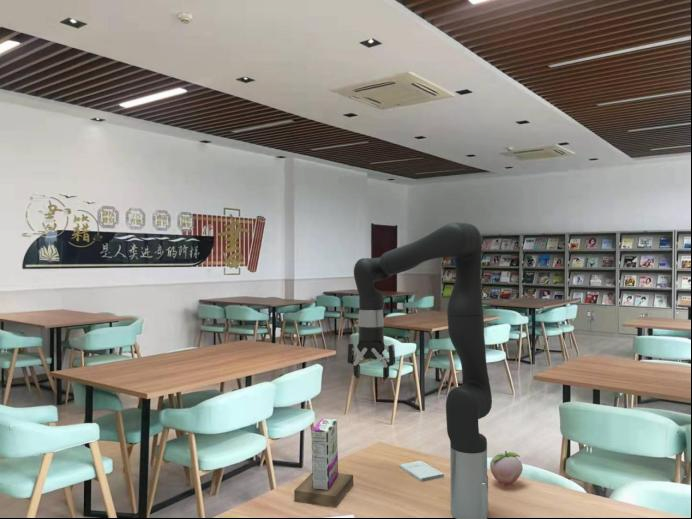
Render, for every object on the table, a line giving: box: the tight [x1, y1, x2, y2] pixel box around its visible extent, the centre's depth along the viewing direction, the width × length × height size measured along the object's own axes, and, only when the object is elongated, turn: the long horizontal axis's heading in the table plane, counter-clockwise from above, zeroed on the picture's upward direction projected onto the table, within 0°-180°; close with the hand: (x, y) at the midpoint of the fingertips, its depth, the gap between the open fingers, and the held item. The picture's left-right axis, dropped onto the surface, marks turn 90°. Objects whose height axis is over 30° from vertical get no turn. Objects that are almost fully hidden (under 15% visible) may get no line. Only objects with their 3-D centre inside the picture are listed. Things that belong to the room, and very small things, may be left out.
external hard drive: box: [399, 460, 445, 483], centre depth 167 cm, size 2×8×12 cm
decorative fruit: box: [489, 450, 524, 486], centre depth 157 cm, size 9×8×10 cm
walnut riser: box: [293, 472, 354, 508], centre depth 152 cm, size 12×15×3 cm
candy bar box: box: [311, 418, 339, 490], centre depth 152 cm, size 11×5×16 cm, turn 167°
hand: (371, 378), depth 162 cm, fingers open, 8 cm apart
